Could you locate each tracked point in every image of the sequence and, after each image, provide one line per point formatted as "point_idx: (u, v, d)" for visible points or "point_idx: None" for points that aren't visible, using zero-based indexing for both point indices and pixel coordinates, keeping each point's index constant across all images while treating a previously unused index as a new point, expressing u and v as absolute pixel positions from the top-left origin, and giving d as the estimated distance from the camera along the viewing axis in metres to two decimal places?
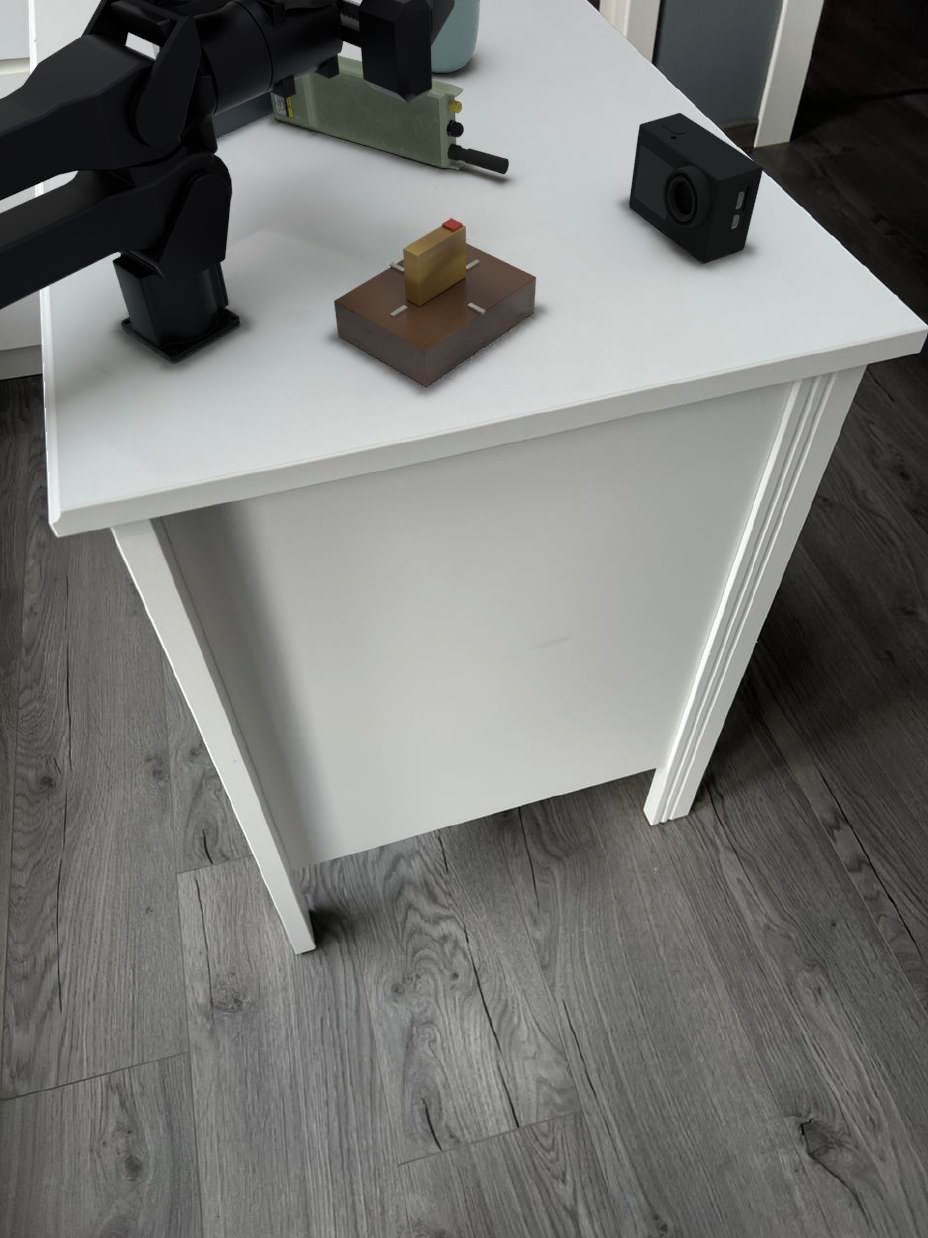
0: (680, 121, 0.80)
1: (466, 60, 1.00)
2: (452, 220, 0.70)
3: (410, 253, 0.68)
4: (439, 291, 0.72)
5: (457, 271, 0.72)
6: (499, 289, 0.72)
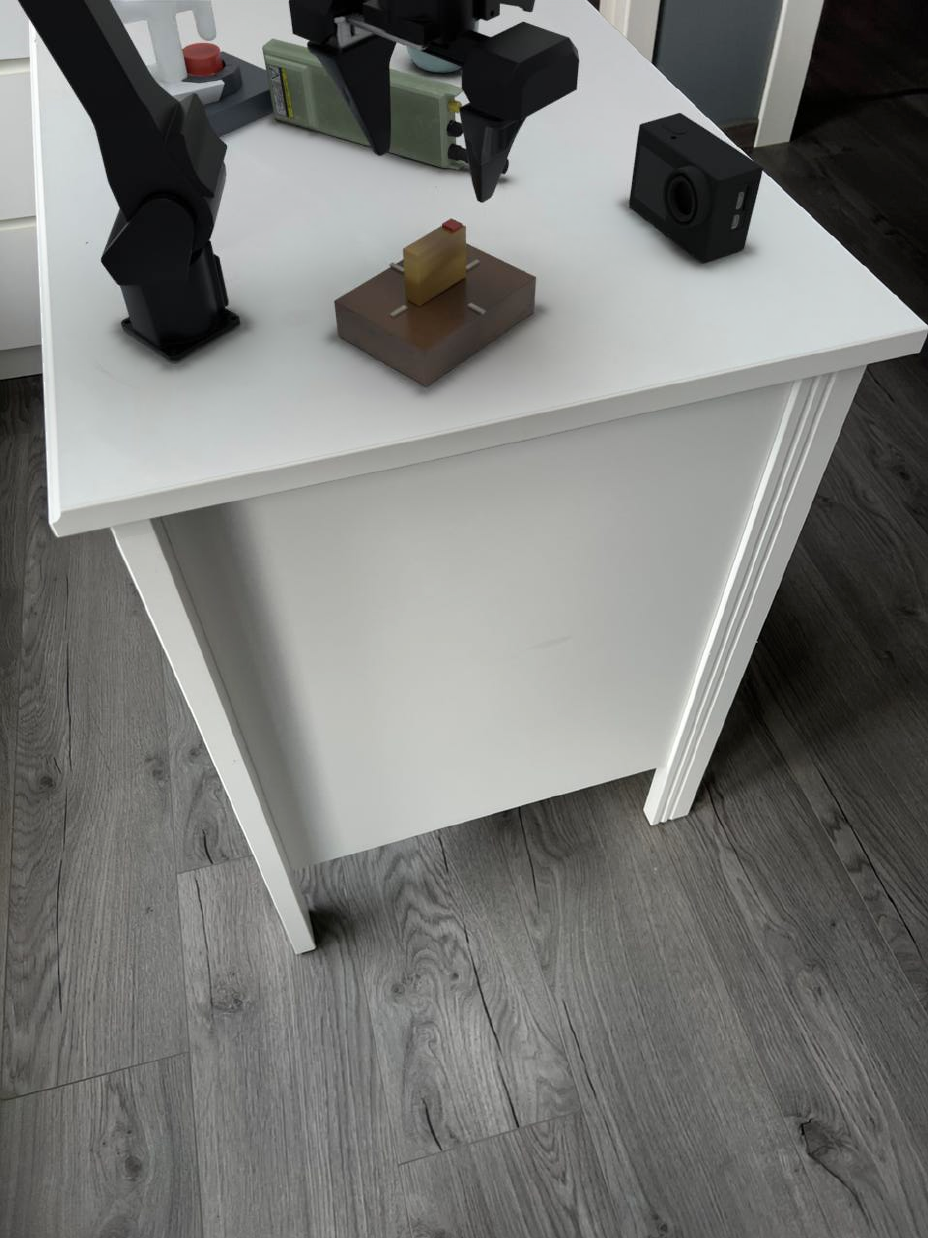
0: (680, 121, 0.80)
1: None
2: (452, 220, 0.70)
3: (410, 253, 0.68)
4: (439, 291, 0.72)
5: (457, 271, 0.72)
6: (499, 289, 0.72)
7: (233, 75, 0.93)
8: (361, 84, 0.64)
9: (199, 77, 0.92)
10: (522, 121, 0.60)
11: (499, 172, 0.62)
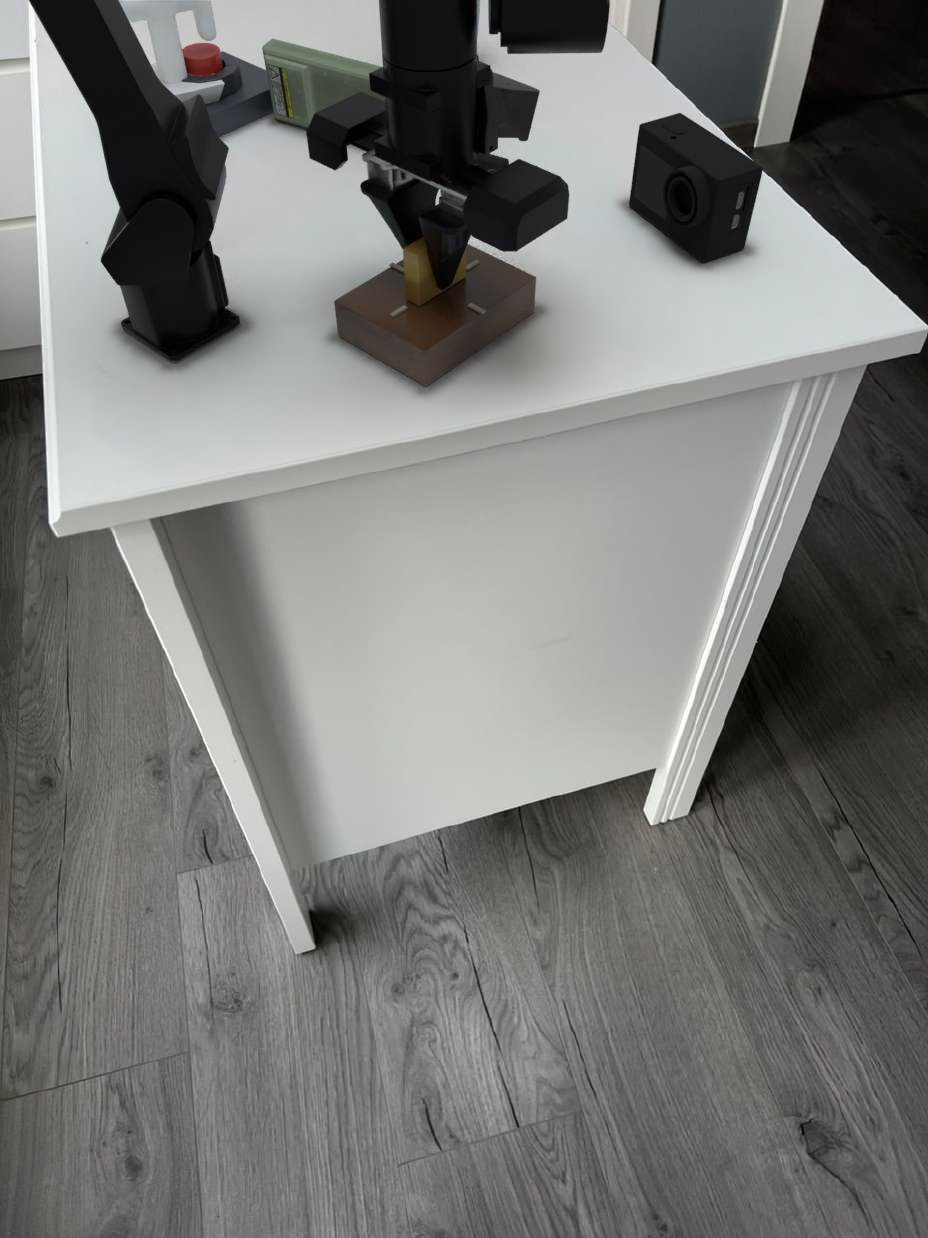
0: (680, 121, 0.80)
1: None
2: None
3: (410, 253, 0.68)
4: (439, 291, 0.72)
5: (457, 271, 0.72)
6: (499, 289, 0.72)
7: (233, 75, 0.93)
8: (410, 221, 0.68)
9: (199, 77, 0.92)
10: None
11: (457, 264, 0.70)
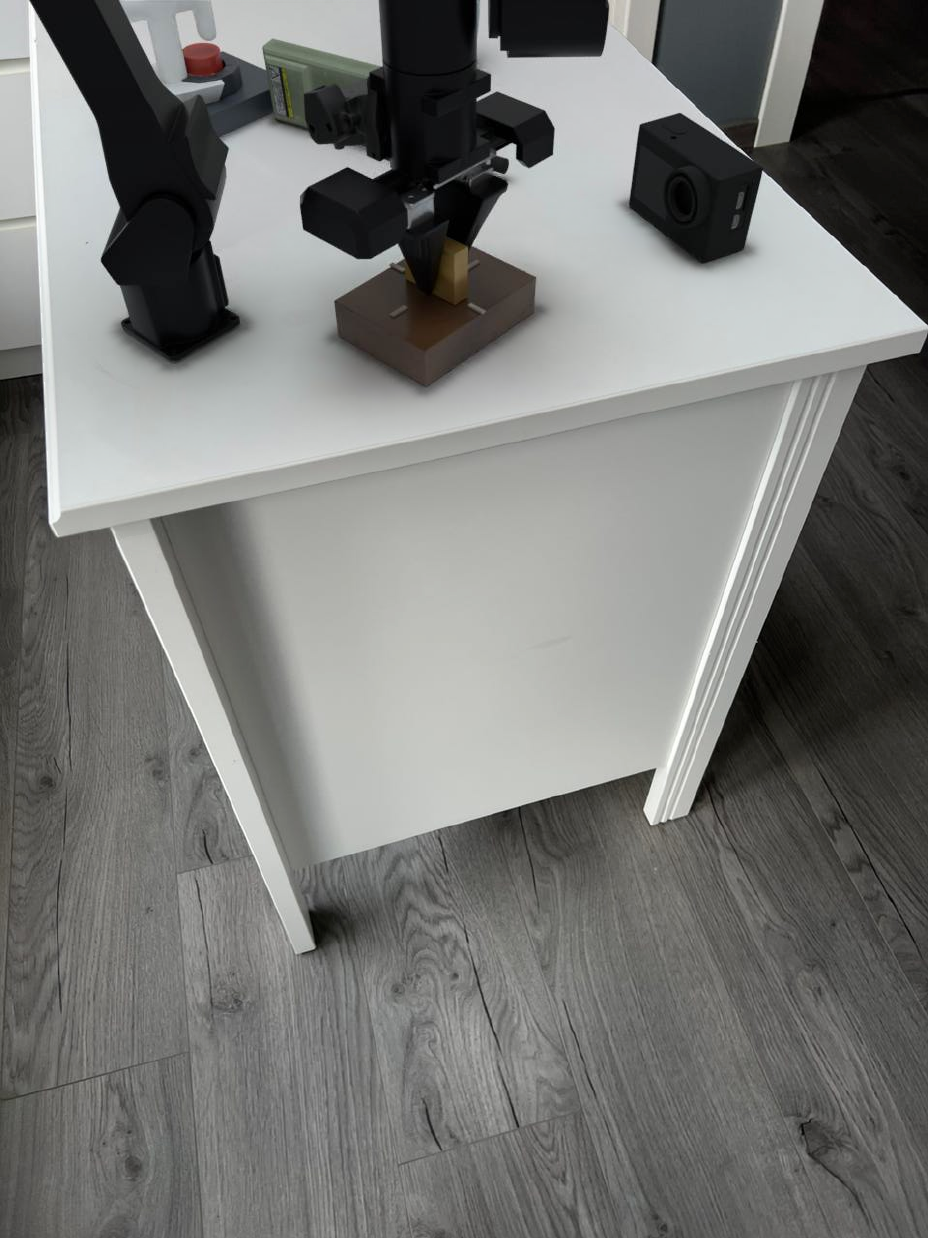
0: (680, 121, 0.80)
1: None
2: None
3: (461, 251, 0.68)
4: None
5: None
6: (499, 289, 0.72)
7: (233, 75, 0.93)
8: None
9: (199, 77, 0.92)
10: None
11: None
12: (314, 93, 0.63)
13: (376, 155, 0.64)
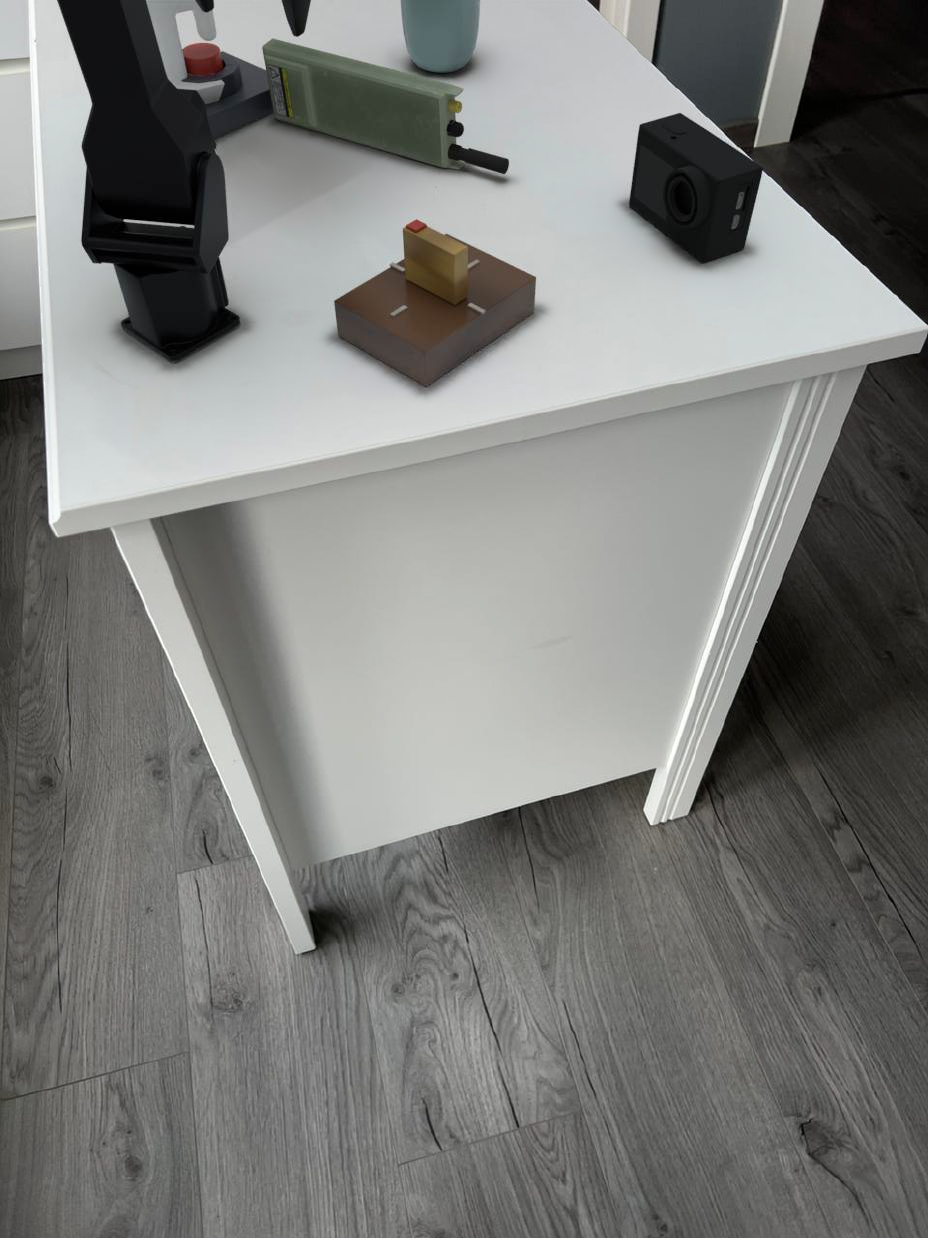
0: (680, 121, 0.80)
1: (466, 60, 1.00)
2: (410, 224, 0.70)
3: (461, 251, 0.68)
4: None
5: None
6: (499, 289, 0.72)
7: (233, 75, 0.93)
8: None
9: (199, 77, 0.92)
10: None
11: (307, 8, 0.78)
12: None
13: None
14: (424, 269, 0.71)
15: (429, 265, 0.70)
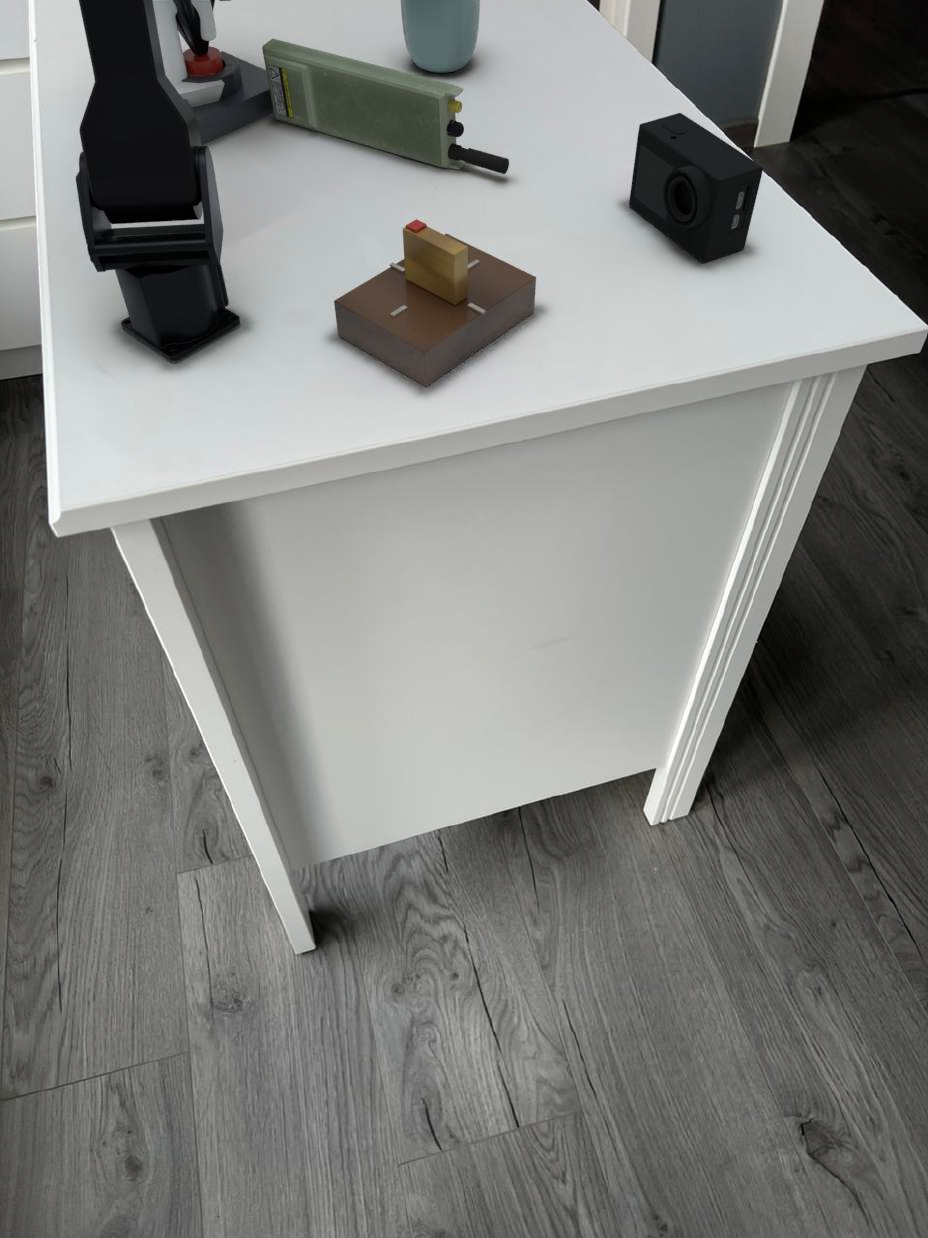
0: (680, 121, 0.80)
1: (466, 60, 1.00)
2: (410, 224, 0.70)
3: (461, 251, 0.68)
4: None
5: None
6: (499, 289, 0.72)
7: (233, 75, 0.93)
8: None
9: (199, 77, 0.92)
10: None
11: None
12: None
13: None
14: (424, 269, 0.71)
15: (429, 265, 0.70)
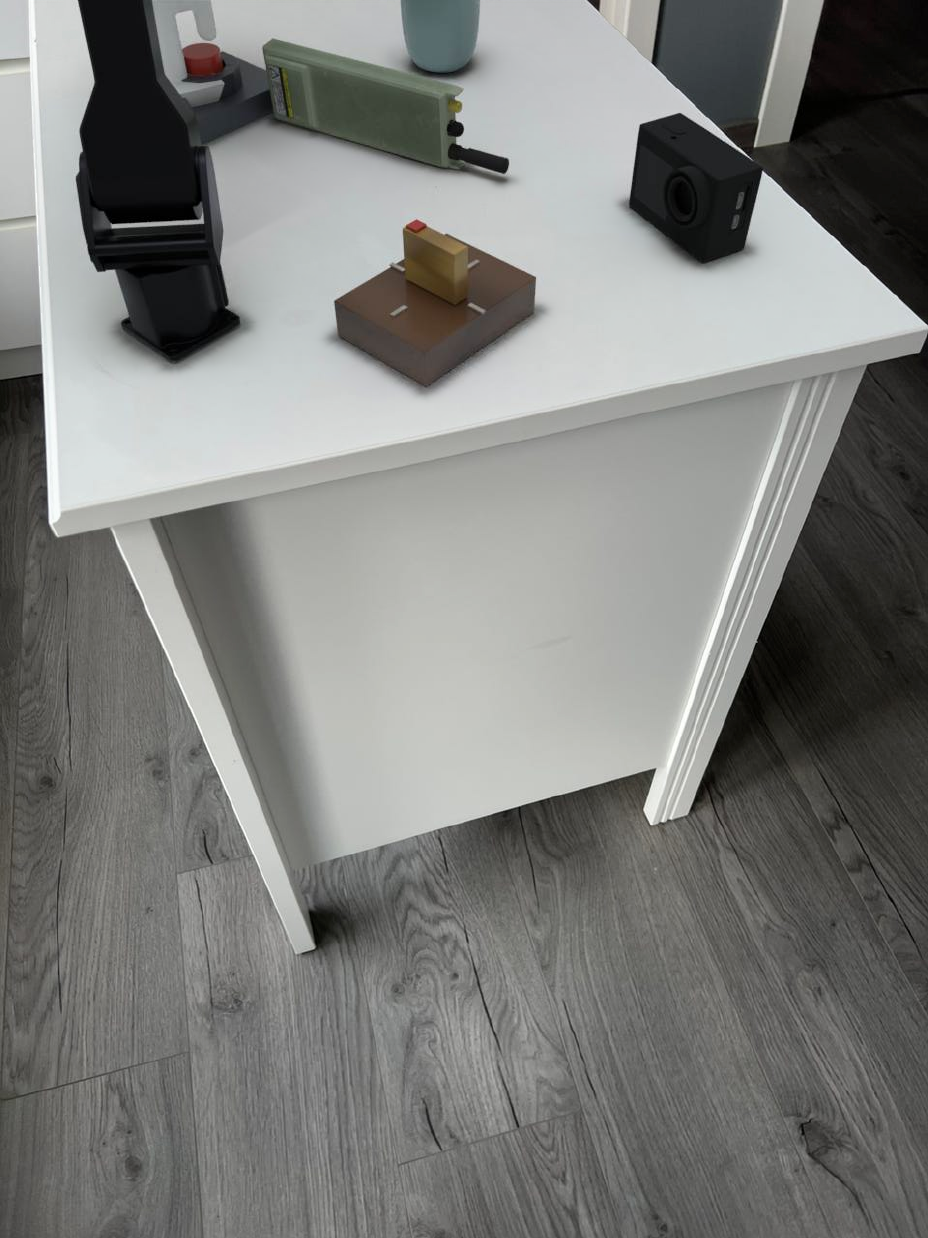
0: (680, 121, 0.80)
1: (466, 60, 1.00)
2: (410, 224, 0.70)
3: (461, 251, 0.68)
4: None
5: None
6: (499, 289, 0.72)
7: (233, 75, 0.93)
8: None
9: (199, 77, 0.92)
10: None
11: None
12: None
13: None
14: (424, 269, 0.71)
15: (429, 265, 0.70)
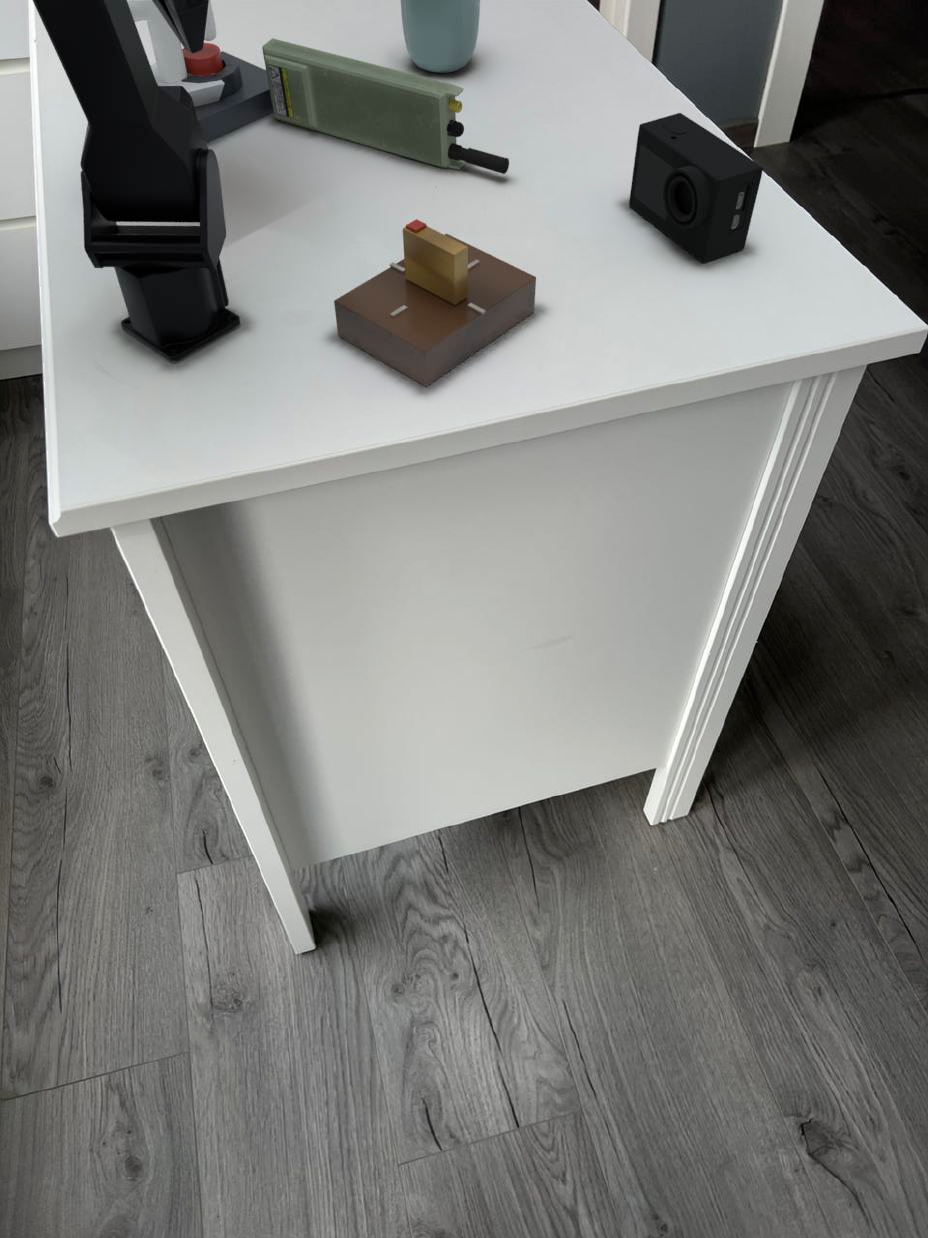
0: (680, 121, 0.80)
1: (466, 60, 1.00)
2: (410, 224, 0.70)
3: (461, 251, 0.68)
4: None
5: None
6: (499, 289, 0.72)
7: (233, 75, 0.93)
8: None
9: (199, 77, 0.92)
10: None
11: (202, 25, 0.75)
12: None
13: None
14: (424, 269, 0.71)
15: (429, 265, 0.70)
